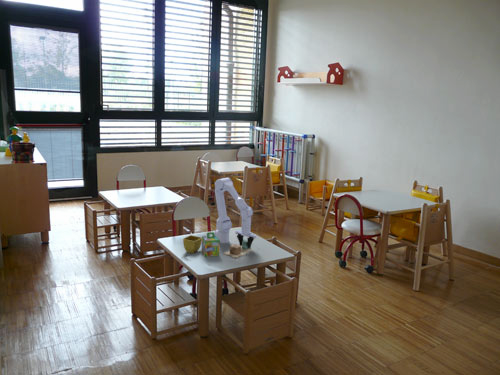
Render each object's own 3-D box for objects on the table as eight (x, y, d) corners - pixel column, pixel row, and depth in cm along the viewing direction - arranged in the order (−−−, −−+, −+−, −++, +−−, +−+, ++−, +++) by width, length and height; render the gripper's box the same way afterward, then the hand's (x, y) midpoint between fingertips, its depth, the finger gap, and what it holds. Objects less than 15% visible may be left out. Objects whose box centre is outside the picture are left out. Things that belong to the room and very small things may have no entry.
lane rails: (217, 257, 259) (217, 255, 259) (240, 245, 281) (240, 243, 281) (236, 263, 252) (236, 260, 252) (258, 250, 274) (258, 248, 274)
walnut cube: (229, 253, 262) (229, 246, 261) (234, 251, 266) (234, 243, 265) (236, 255, 259) (236, 248, 258) (240, 253, 264) (241, 245, 263)
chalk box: (204, 259, 256) (205, 236, 253) (201, 253, 264) (201, 231, 261) (219, 258, 259) (220, 235, 256) (215, 252, 267) (216, 230, 264)
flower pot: (202, 250, 269) (202, 237, 267) (194, 255, 261) (194, 241, 259) (190, 248, 272) (190, 234, 270) (182, 252, 265) (182, 238, 263)
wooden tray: (223, 255, 261) (224, 246, 260) (240, 247, 277) (240, 238, 276) (237, 259, 256) (237, 250, 255) (253, 250, 272) (254, 241, 271)
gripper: (233, 225, 270) (232, 245, 273) (252, 230, 262) (251, 251, 265) (239, 223, 275) (238, 242, 278) (258, 227, 268) (257, 247, 271)
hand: (245, 246), depth 272 cm, fingers closed on wooden tray, 6 cm apart
